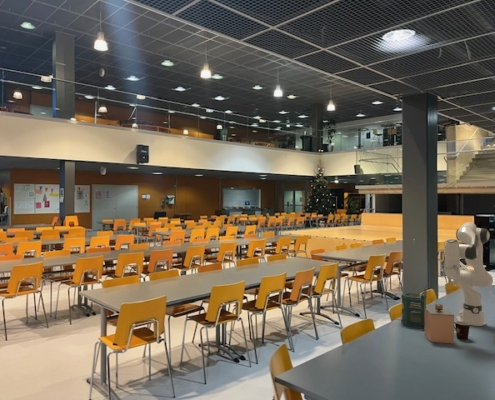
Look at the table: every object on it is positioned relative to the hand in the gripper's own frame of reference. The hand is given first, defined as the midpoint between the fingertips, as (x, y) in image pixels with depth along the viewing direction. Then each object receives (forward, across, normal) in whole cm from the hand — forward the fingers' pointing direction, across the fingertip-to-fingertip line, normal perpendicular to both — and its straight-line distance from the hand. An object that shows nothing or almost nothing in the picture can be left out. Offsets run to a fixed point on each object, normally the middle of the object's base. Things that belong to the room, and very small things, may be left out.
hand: (452, 284), depth 254 cm
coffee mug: (+35, +1, -6) cm, 36 cm away
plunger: (+30, -5, +10) cm, 32 cm away
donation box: (+36, +27, +19) cm, 48 cm away
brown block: (+35, -5, +10) cm, 36 cm away
